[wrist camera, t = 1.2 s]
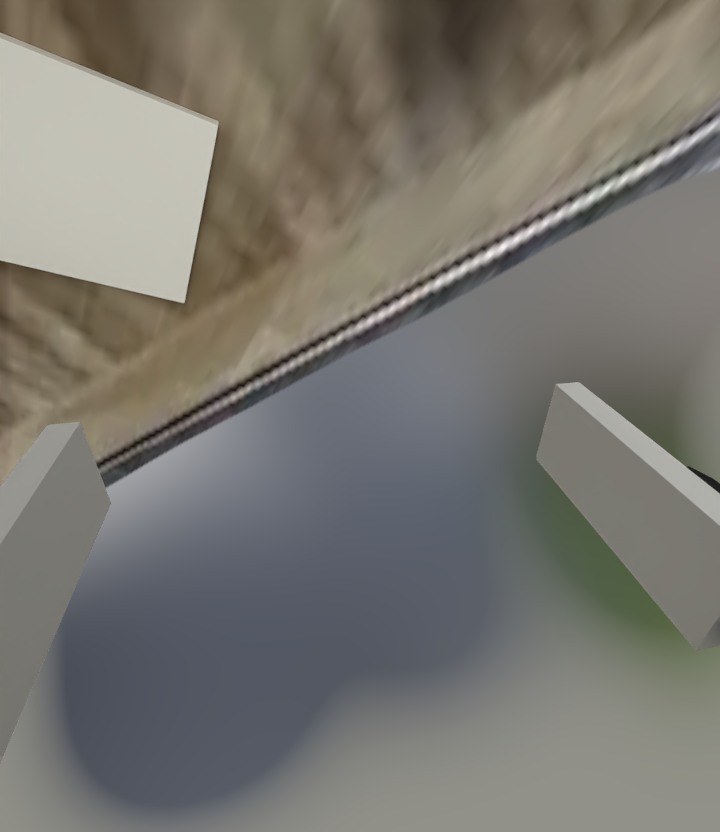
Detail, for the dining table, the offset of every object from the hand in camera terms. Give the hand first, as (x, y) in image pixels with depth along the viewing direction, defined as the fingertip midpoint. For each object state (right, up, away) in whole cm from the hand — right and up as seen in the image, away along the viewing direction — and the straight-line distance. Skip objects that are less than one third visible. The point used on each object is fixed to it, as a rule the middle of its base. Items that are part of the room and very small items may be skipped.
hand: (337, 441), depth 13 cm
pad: (-18, +17, +19) cm, 31 cm away
